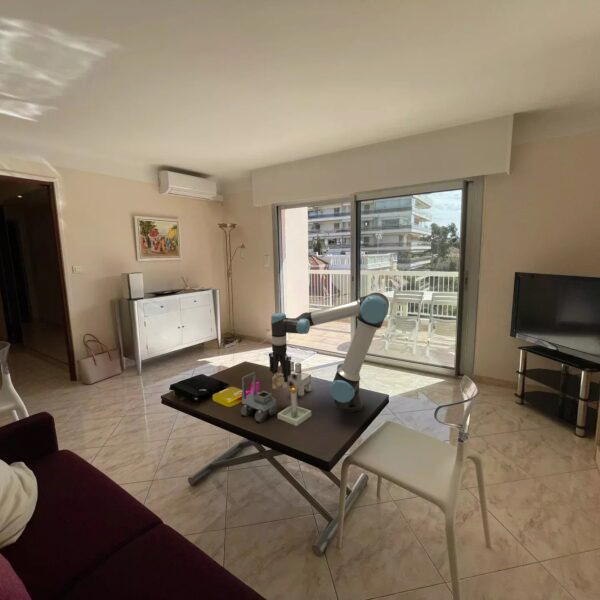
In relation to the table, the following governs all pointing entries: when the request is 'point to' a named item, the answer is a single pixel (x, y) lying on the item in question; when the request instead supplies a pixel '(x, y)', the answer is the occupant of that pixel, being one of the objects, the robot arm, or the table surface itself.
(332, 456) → the table surface
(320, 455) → the table surface
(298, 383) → the toy llama
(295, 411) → the pin
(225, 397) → the yellow square case
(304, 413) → the tray
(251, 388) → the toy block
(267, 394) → the trolley
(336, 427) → the table surface
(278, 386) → the chock
